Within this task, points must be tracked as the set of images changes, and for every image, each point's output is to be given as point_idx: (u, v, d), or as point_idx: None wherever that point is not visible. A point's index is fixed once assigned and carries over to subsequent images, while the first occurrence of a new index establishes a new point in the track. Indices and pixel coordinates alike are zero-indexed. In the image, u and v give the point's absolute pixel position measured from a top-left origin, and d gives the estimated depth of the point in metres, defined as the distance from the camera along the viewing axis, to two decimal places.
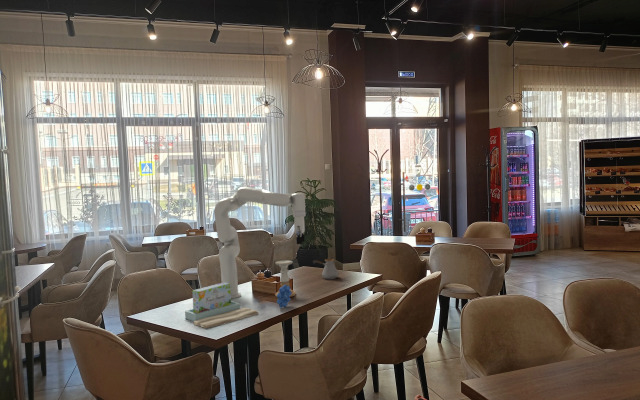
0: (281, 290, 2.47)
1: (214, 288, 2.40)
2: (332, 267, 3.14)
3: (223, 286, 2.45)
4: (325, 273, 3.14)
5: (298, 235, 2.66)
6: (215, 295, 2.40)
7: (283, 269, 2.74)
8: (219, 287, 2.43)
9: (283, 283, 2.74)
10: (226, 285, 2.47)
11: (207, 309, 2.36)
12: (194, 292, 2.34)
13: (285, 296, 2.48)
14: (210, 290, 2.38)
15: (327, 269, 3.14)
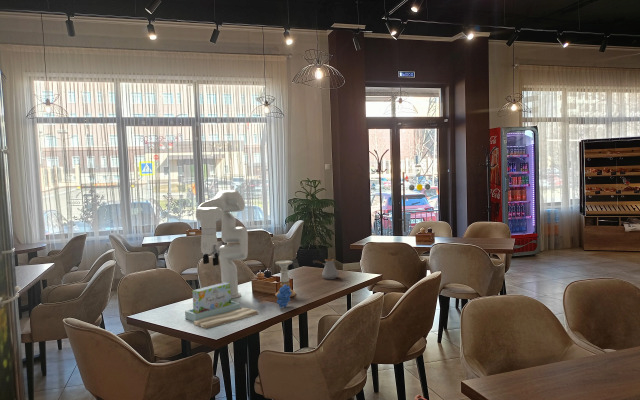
0: (281, 290, 2.47)
1: (214, 288, 2.40)
2: (332, 267, 3.14)
3: (223, 286, 2.45)
4: (325, 273, 3.14)
5: (217, 255, 2.36)
6: (215, 295, 2.40)
7: (283, 269, 2.74)
8: (219, 287, 2.43)
9: (283, 283, 2.74)
10: (226, 285, 2.47)
11: (207, 309, 2.36)
12: (194, 292, 2.34)
13: (285, 296, 2.48)
14: (210, 290, 2.38)
15: (327, 269, 3.14)
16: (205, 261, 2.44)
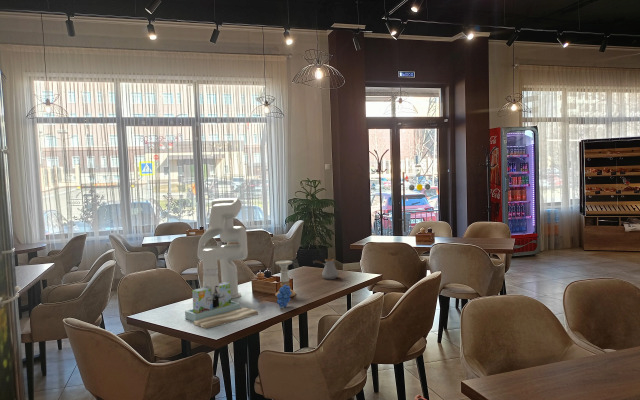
0: (281, 290, 2.47)
1: None
2: (332, 267, 3.14)
3: (223, 286, 2.45)
4: (325, 273, 3.14)
5: (217, 297, 2.38)
6: (215, 295, 2.40)
7: (283, 269, 2.74)
8: None
9: (283, 283, 2.74)
10: (226, 285, 2.46)
11: (207, 309, 2.36)
12: (194, 292, 2.34)
13: (285, 296, 2.48)
14: None
15: (327, 269, 3.14)
16: None
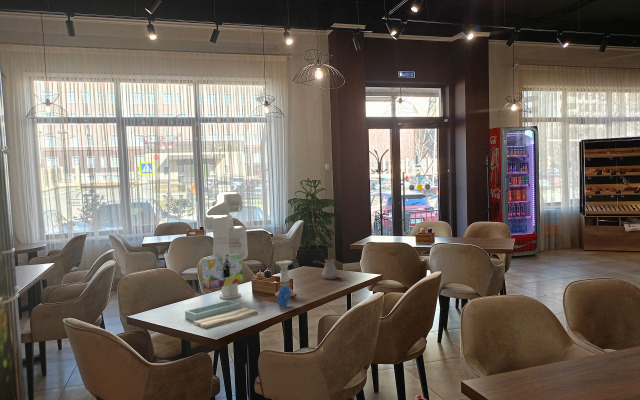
0: (281, 290, 2.47)
1: None
2: (332, 267, 3.14)
3: (234, 256, 2.35)
4: (325, 273, 3.14)
5: (228, 267, 2.28)
6: None
7: (283, 269, 2.74)
8: None
9: (283, 283, 2.74)
10: (237, 255, 2.37)
11: (217, 279, 2.27)
12: (204, 260, 2.25)
13: (285, 296, 2.48)
14: (220, 259, 2.28)
15: (327, 269, 3.14)
16: None
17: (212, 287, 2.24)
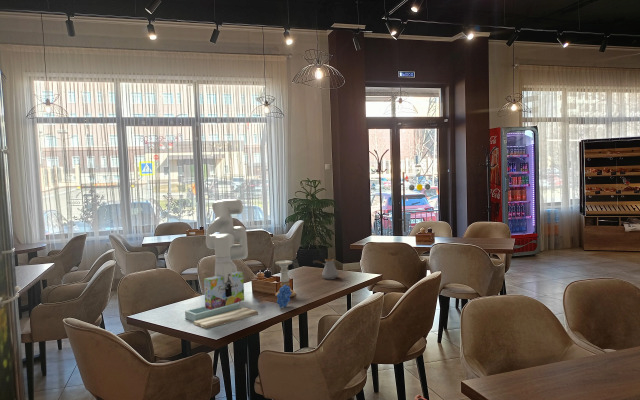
0: (281, 290, 2.47)
1: None
2: (332, 267, 3.14)
3: (236, 275, 2.35)
4: (325, 273, 3.14)
5: (230, 286, 2.28)
6: None
7: (283, 269, 2.74)
8: (232, 276, 2.33)
9: (283, 283, 2.74)
10: (239, 274, 2.37)
11: (219, 298, 2.26)
12: (206, 280, 2.24)
13: (285, 296, 2.48)
14: None
15: (327, 269, 3.14)
16: None
17: (214, 307, 2.24)
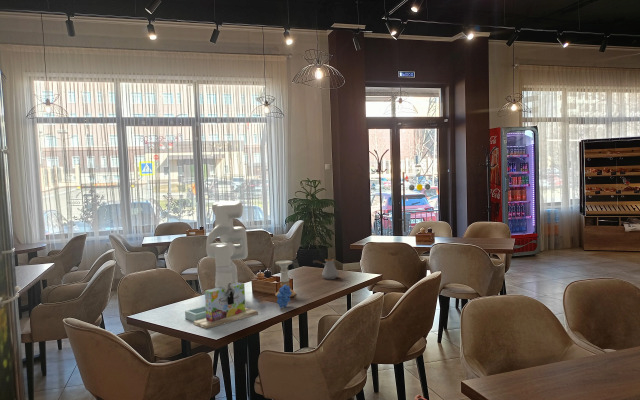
0: (281, 290, 2.47)
1: None
2: (332, 267, 3.14)
3: (237, 286, 2.35)
4: (325, 273, 3.14)
5: (232, 294, 2.27)
6: None
7: (283, 269, 2.74)
8: None
9: (283, 283, 2.74)
10: (240, 285, 2.37)
11: (220, 310, 2.27)
12: (207, 292, 2.25)
13: (285, 296, 2.48)
14: None
15: (327, 269, 3.14)
16: None
17: (215, 319, 2.25)
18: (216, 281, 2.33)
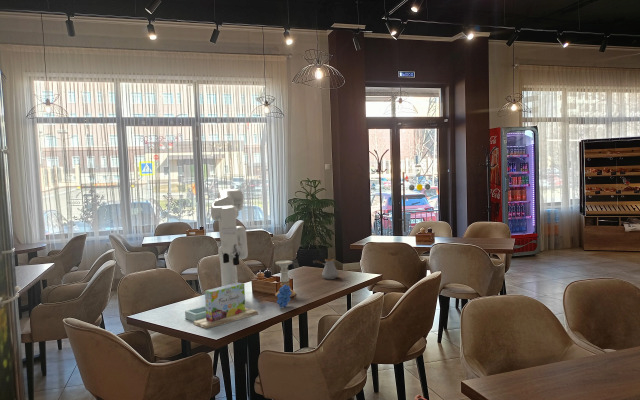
0: (281, 290, 2.47)
1: (227, 288, 2.31)
2: (332, 267, 3.14)
3: (237, 286, 2.35)
4: (325, 273, 3.14)
5: (237, 255, 2.33)
6: (229, 295, 2.31)
7: (283, 269, 2.74)
8: (233, 287, 2.33)
9: (283, 283, 2.74)
10: (240, 285, 2.37)
11: (220, 310, 2.27)
12: (207, 292, 2.25)
13: (285, 296, 2.48)
14: (223, 290, 2.28)
15: (327, 269, 3.14)
16: (225, 260, 2.41)
17: (215, 319, 2.25)
18: (222, 243, 2.38)
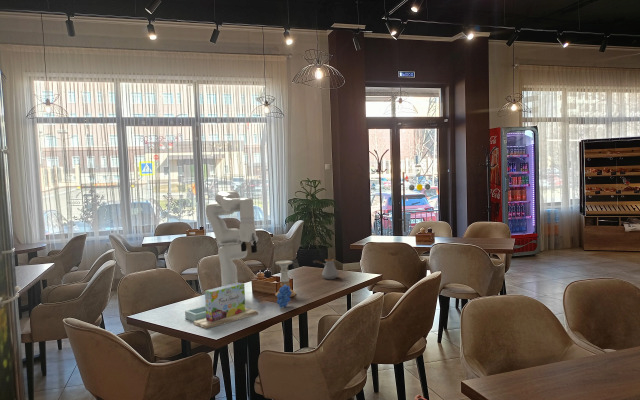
0: (281, 290, 2.47)
1: (227, 288, 2.30)
2: (332, 267, 3.14)
3: (237, 286, 2.35)
4: (325, 273, 3.14)
5: (255, 243, 2.48)
6: (229, 295, 2.31)
7: (283, 269, 2.74)
8: (233, 287, 2.33)
9: (283, 283, 2.74)
10: (240, 285, 2.37)
11: (220, 310, 2.27)
12: (207, 292, 2.25)
13: (285, 296, 2.48)
14: (223, 290, 2.28)
15: (327, 269, 3.14)
16: (243, 249, 2.56)
17: (215, 319, 2.25)
18: (240, 232, 2.53)
